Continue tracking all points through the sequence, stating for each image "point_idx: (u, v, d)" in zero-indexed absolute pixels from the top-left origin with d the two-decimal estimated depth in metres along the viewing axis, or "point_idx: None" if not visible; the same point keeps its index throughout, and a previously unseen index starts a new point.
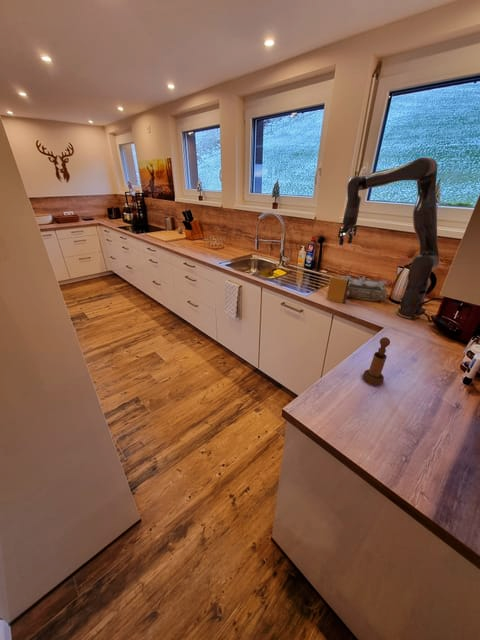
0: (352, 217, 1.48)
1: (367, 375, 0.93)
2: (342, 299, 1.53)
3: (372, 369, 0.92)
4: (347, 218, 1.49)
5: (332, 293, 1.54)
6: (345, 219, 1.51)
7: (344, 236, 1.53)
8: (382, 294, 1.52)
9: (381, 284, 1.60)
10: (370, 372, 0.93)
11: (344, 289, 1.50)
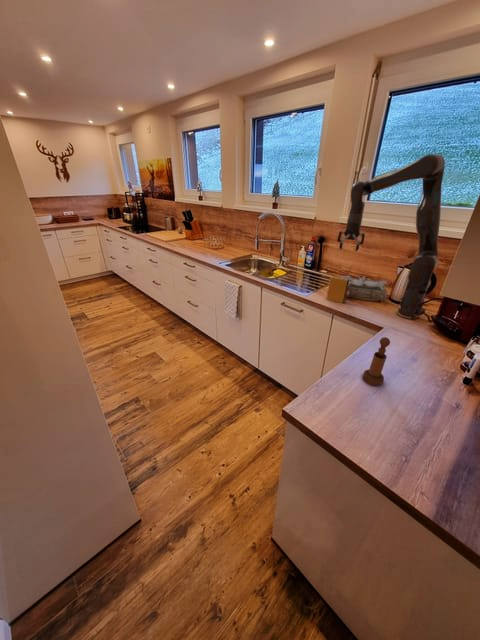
0: (349, 222, 1.47)
1: (367, 375, 0.93)
2: (342, 299, 1.53)
3: (372, 369, 0.92)
4: (347, 223, 1.50)
5: (332, 293, 1.54)
6: None
7: (342, 240, 1.54)
8: (382, 294, 1.52)
9: (381, 284, 1.60)
10: (370, 372, 0.93)
11: (344, 289, 1.50)
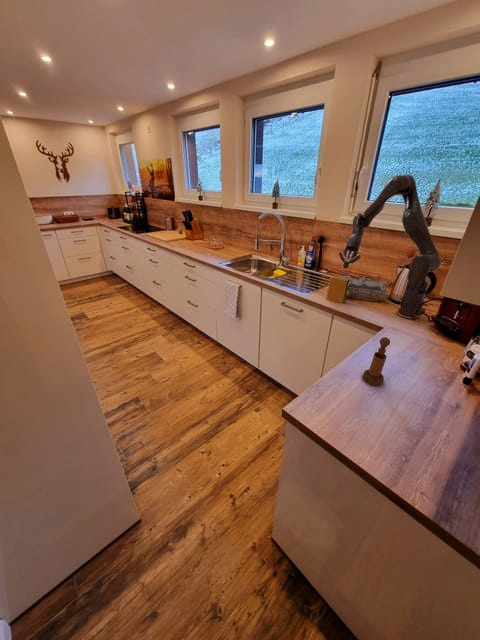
0: (349, 240, 1.59)
1: (367, 375, 0.93)
2: (342, 299, 1.53)
3: (372, 369, 0.92)
4: (347, 243, 1.61)
5: (332, 293, 1.54)
6: None
7: (346, 259, 1.58)
8: (382, 294, 1.52)
9: (381, 284, 1.60)
10: (370, 372, 0.93)
11: (344, 289, 1.50)
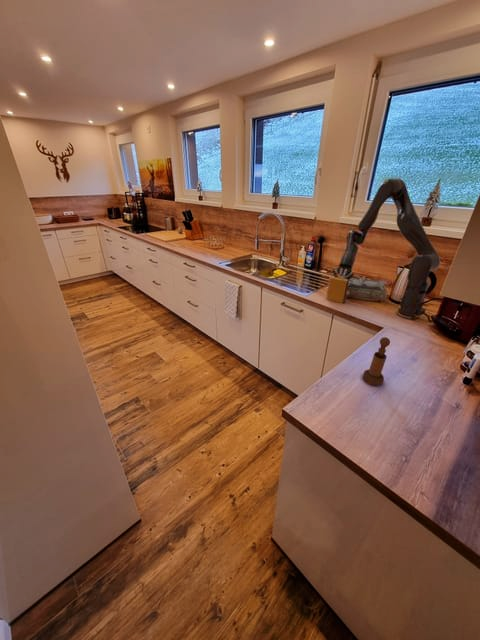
0: (343, 258, 1.55)
1: (367, 375, 0.93)
2: (342, 299, 1.53)
3: (372, 369, 0.92)
4: (340, 261, 1.58)
5: (332, 293, 1.54)
6: None
7: (339, 276, 1.54)
8: (382, 294, 1.52)
9: (381, 284, 1.60)
10: (370, 372, 0.93)
11: (344, 290, 1.49)
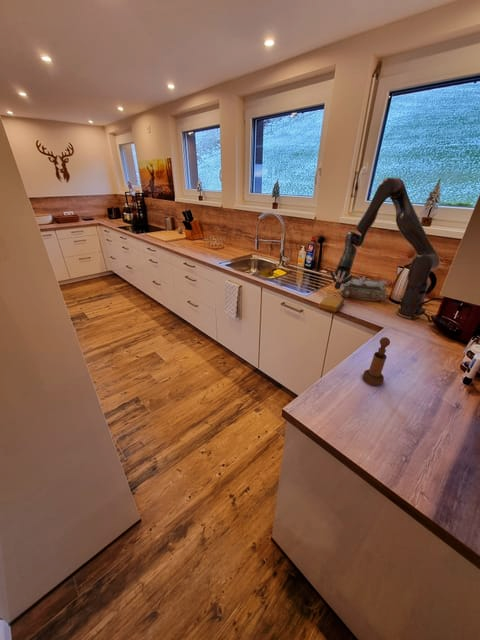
0: (341, 260, 1.53)
1: (367, 375, 0.93)
2: None
3: (372, 369, 0.92)
4: None
5: None
6: None
7: (337, 279, 1.51)
8: (382, 294, 1.52)
9: (381, 284, 1.60)
10: (370, 372, 0.93)
11: None
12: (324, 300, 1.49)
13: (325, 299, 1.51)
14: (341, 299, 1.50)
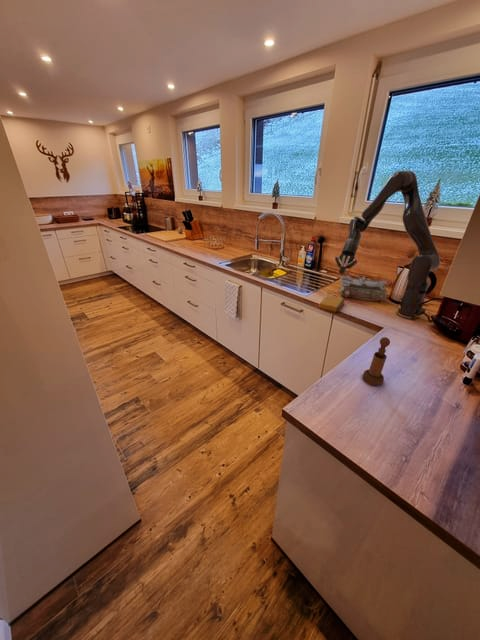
0: (345, 245, 1.53)
1: (367, 375, 0.93)
2: None
3: (372, 369, 0.92)
4: (343, 248, 1.55)
5: None
6: None
7: (342, 264, 1.52)
8: (382, 294, 1.52)
9: (381, 284, 1.60)
10: (370, 372, 0.93)
11: None
12: (324, 300, 1.49)
13: (325, 299, 1.51)
14: (341, 299, 1.50)
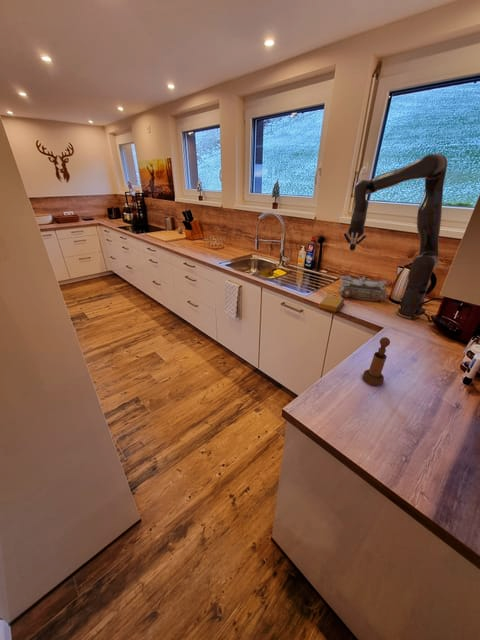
0: (352, 220, 1.48)
1: (367, 375, 0.93)
2: None
3: (372, 369, 0.92)
4: None
5: None
6: None
7: (351, 241, 1.54)
8: (382, 294, 1.52)
9: (381, 284, 1.60)
10: (370, 372, 0.93)
11: None
12: (324, 300, 1.49)
13: (325, 299, 1.51)
14: (341, 299, 1.50)
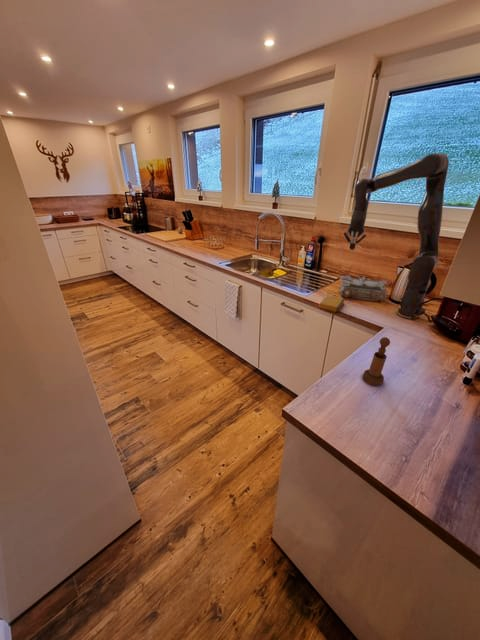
0: (352, 219, 1.48)
1: (367, 375, 0.93)
2: None
3: (372, 369, 0.92)
4: (351, 220, 1.50)
5: None
6: None
7: (351, 240, 1.54)
8: (382, 294, 1.52)
9: (381, 284, 1.60)
10: (370, 372, 0.93)
11: None
12: (324, 300, 1.49)
13: (325, 299, 1.51)
14: (341, 299, 1.50)
